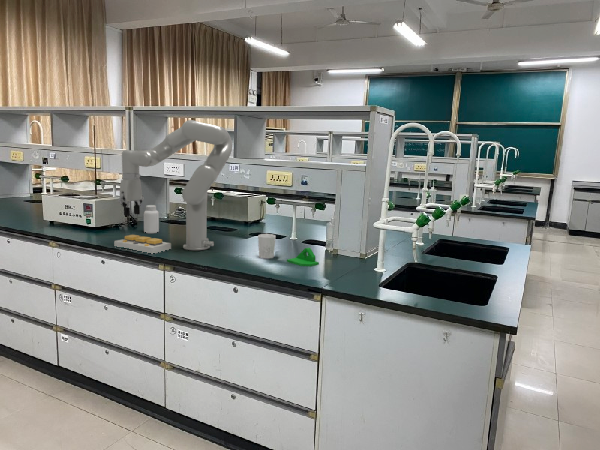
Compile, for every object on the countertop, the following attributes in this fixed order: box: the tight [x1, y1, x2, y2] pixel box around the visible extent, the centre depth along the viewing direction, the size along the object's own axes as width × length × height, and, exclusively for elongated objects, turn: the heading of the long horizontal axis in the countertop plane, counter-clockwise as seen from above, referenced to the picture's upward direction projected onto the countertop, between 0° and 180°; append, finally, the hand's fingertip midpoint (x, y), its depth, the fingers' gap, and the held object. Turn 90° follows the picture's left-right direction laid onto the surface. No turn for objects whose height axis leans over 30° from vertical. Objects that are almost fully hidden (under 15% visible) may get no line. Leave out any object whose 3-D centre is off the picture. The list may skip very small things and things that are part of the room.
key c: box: [124, 234, 141, 242], centre depth 216 cm, size 5×5×3 cm
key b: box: [135, 235, 152, 244], centre depth 212 cm, size 5×5×3 cm
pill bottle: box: [143, 204, 160, 234], centre depth 250 cm, size 8×8×15 cm
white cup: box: [257, 233, 277, 260], centre depth 205 cm, size 8×8×10 cm
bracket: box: [286, 247, 320, 267], centre depth 196 cm, size 12×8×7 cm, turn 46°
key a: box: [146, 237, 163, 246], centre depth 209 cm, size 5×5×3 cm
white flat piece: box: [113, 238, 172, 255], centre depth 212 cm, size 24×12×4 cm, turn 63°
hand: (131, 214), depth 214 cm, fingers open, 5 cm apart
